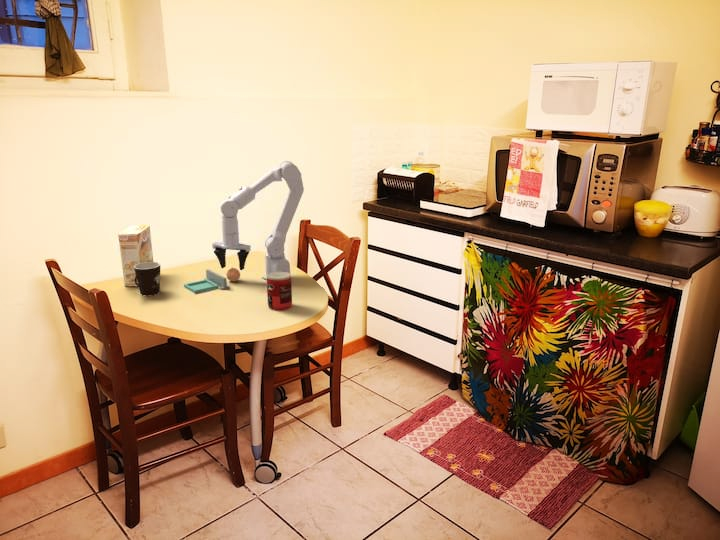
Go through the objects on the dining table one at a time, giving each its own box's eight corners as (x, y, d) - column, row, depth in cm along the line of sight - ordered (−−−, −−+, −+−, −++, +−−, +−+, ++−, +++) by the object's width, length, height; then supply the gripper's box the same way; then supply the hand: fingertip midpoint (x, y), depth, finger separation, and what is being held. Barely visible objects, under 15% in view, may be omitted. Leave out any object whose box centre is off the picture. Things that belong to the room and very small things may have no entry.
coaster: (218, 288, 195) (218, 285, 195) (194, 293, 190) (194, 290, 189) (207, 282, 202) (207, 279, 201) (184, 287, 196) (183, 284, 196)
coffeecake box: (143, 286, 197) (137, 233, 191) (123, 286, 196) (116, 234, 190) (155, 273, 211) (150, 224, 205) (137, 273, 211) (131, 224, 205)
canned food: (270, 302, 182) (268, 270, 179) (293, 302, 182) (292, 271, 179) (265, 310, 175) (264, 278, 172) (290, 311, 175) (289, 278, 171)
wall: (229, 288, 195) (228, 277, 194) (221, 289, 193) (221, 279, 192) (211, 278, 205) (210, 268, 204) (204, 280, 203) (203, 270, 202)
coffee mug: (153, 287, 196) (150, 260, 193) (168, 291, 191) (165, 264, 188) (124, 296, 187) (120, 268, 184) (138, 301, 182) (135, 272, 179)
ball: (243, 281, 203) (242, 268, 201) (231, 284, 199) (230, 271, 198) (236, 278, 206) (235, 265, 205) (224, 280, 203) (223, 268, 202)
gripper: (253, 231, 199) (255, 267, 203) (218, 228, 203) (220, 263, 207) (244, 236, 193) (246, 272, 197) (208, 233, 196) (211, 268, 200)
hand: (232, 268), depth 201 cm, fingers open, 7 cm apart
